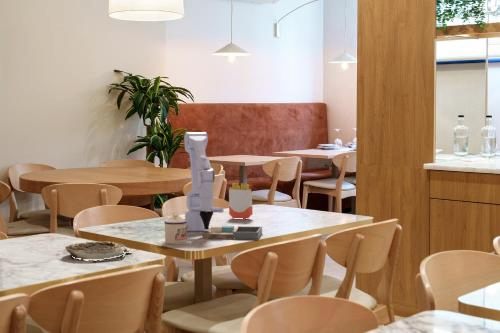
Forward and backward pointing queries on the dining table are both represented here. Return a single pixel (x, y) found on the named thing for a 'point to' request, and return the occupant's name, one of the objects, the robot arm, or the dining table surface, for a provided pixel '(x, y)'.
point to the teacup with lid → (175, 230)
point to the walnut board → (218, 234)
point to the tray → (248, 233)
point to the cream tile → (216, 228)
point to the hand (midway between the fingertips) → (206, 229)
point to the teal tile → (227, 228)
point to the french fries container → (240, 201)
